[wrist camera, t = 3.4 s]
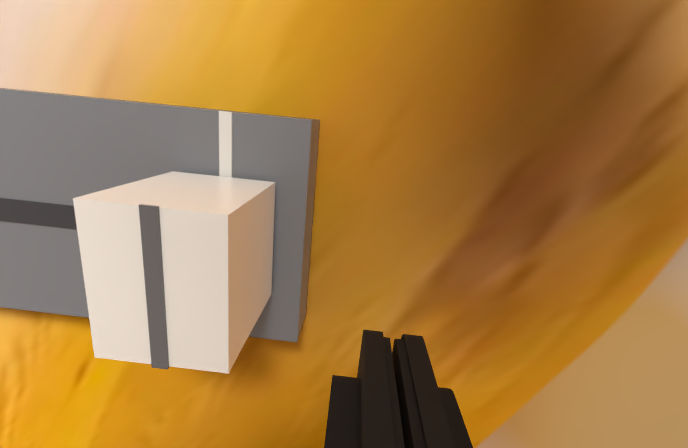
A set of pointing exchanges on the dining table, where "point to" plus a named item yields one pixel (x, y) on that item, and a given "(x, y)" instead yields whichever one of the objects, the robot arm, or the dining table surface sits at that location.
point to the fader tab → (176, 267)
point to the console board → (133, 165)
